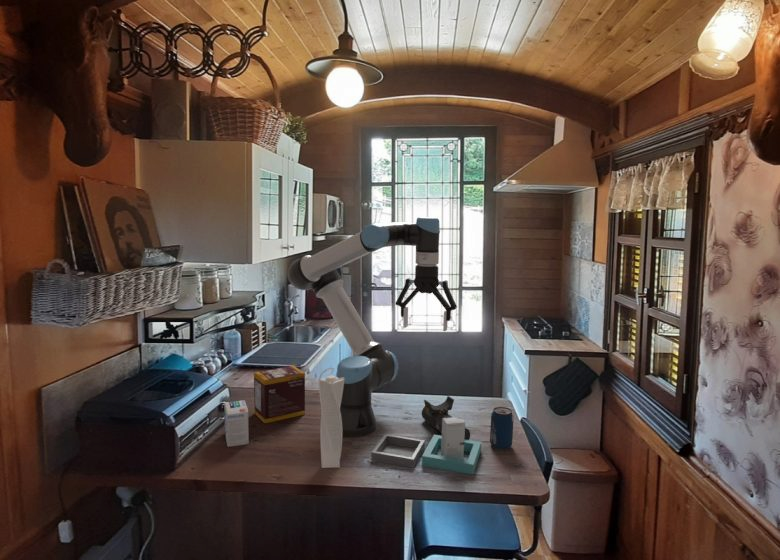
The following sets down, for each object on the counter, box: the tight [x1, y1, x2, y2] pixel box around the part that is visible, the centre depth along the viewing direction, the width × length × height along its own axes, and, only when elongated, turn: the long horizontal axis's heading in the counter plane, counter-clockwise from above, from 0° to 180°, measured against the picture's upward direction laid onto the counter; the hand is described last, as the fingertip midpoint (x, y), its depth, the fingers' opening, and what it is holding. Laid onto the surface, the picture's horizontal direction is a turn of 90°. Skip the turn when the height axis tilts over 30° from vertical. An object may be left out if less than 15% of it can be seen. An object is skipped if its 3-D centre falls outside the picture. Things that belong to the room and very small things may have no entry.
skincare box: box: [440, 416, 466, 460], centre depth 156 cm, size 6×4×12 cm
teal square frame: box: [421, 434, 482, 476], centre depth 157 cm, size 15×15×3 cm
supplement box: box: [253, 365, 306, 424], centre depth 186 cm, size 10×15×16 cm
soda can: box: [489, 406, 515, 451], centre depth 164 cm, size 7×7×12 cm
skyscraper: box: [318, 366, 344, 469], centre depth 151 cm, size 8×8×28 cm
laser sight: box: [421, 395, 471, 440], centre depth 174 cm, size 10×22×10 cm, turn 26°
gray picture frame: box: [370, 433, 426, 468], centre depth 159 cm, size 13×13×2 cm
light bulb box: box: [223, 399, 250, 448], centre depth 166 cm, size 11×7×11 cm, turn 22°
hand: (425, 328), depth 173 cm, fingers open, 13 cm apart
